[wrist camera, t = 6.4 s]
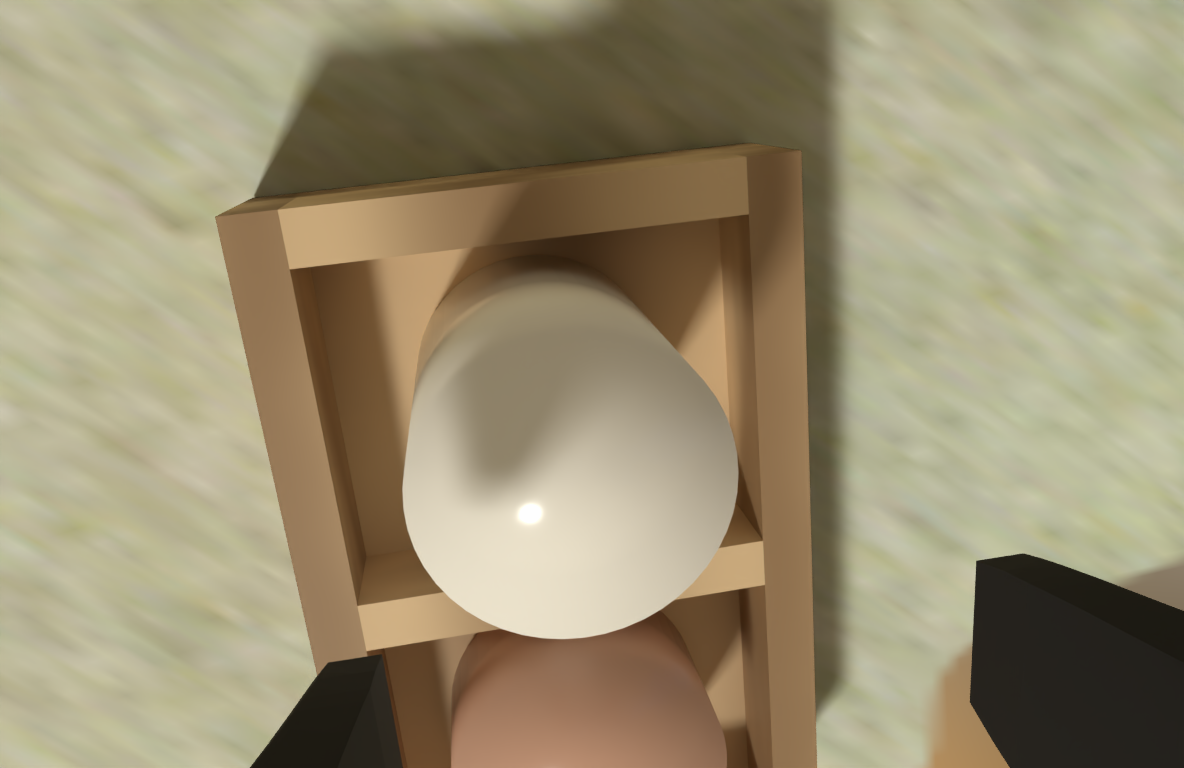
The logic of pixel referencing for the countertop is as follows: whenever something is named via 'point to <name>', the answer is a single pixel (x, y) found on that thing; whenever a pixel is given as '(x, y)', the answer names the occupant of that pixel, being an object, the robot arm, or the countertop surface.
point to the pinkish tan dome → (583, 702)
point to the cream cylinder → (561, 454)
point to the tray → (387, 378)
